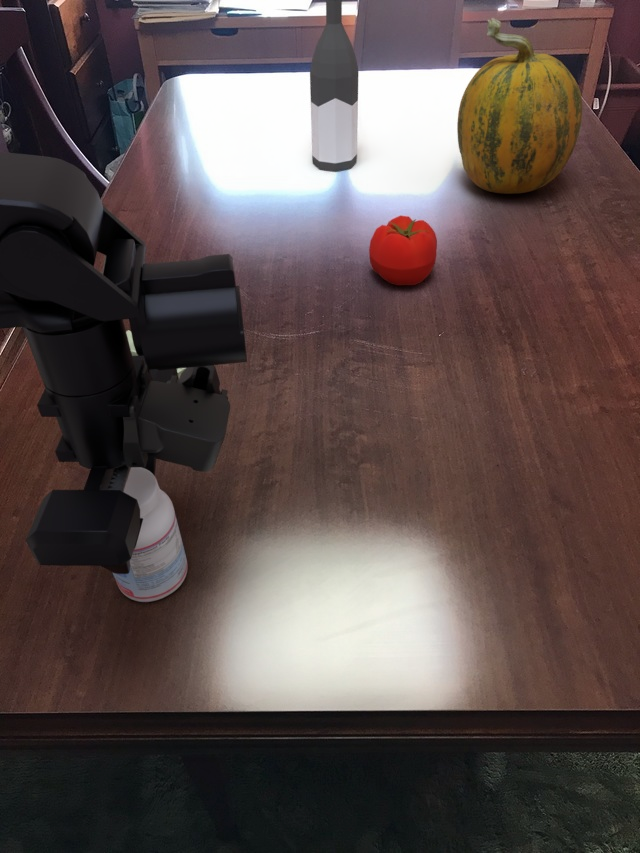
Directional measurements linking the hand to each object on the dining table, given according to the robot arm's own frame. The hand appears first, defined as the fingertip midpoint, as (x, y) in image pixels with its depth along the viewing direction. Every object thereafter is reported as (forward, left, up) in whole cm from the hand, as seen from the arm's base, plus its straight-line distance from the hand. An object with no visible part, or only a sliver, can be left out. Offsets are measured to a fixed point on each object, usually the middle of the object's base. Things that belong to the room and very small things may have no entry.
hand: (136, 523), depth 55 cm
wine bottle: (+78, +46, -7) cm, 91 cm away
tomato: (+54, +13, -7) cm, 56 cm away
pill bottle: (0, 0, -7) cm, 7 cm away
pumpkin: (+89, +17, -7) cm, 91 cm away
